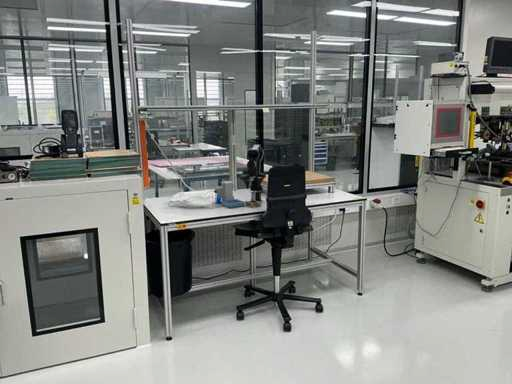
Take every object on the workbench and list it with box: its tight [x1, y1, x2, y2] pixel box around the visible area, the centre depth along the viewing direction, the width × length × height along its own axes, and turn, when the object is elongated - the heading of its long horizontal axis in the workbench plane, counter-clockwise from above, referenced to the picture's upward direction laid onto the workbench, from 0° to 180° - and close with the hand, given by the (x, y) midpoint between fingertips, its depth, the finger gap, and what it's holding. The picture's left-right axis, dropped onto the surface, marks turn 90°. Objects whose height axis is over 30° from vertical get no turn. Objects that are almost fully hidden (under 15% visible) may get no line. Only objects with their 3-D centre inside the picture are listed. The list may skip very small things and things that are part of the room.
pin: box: [249, 190, 256, 203], centre depth 301 cm, size 4×4×11 cm
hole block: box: [244, 200, 262, 209], centre depth 301 cm, size 8×8×3 cm
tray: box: [220, 198, 245, 209], centre depth 302 cm, size 13×11×3 cm
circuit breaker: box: [213, 180, 235, 201], centre depth 312 cm, size 8×14×15 cm, turn 104°
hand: (253, 188), depth 299 cm, fingers open, 9 cm apart
